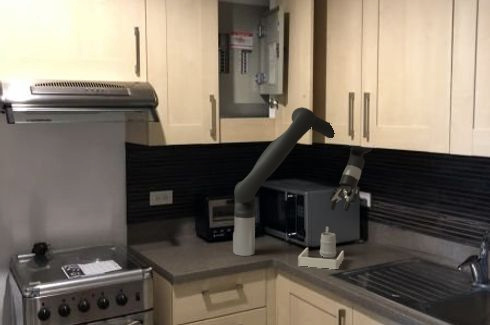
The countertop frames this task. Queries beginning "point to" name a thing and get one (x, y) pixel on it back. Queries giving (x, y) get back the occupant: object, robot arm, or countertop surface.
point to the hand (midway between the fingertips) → (338, 210)
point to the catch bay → (319, 261)
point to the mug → (328, 244)
